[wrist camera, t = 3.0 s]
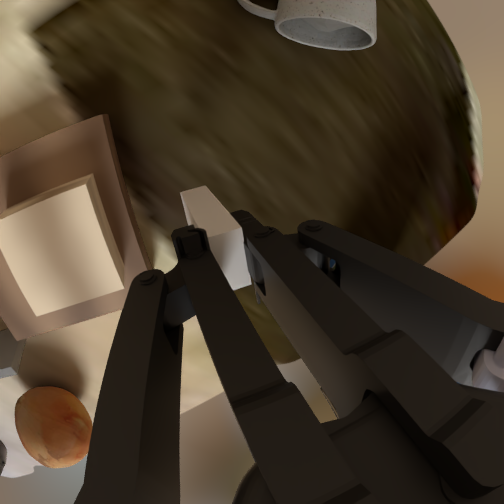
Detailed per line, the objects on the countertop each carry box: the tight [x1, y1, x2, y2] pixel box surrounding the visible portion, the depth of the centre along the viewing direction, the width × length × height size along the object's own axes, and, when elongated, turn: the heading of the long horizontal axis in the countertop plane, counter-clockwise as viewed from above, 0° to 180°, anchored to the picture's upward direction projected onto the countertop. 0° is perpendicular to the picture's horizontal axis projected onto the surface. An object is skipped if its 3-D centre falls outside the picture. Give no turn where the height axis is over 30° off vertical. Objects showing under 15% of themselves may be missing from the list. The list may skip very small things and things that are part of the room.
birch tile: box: [0, 173, 124, 317], centre depth 16 cm, size 7×7×3 cm
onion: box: [15, 386, 93, 468], centre depth 23 cm, size 10×10×10 cm
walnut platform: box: [0, 114, 152, 341], centre depth 19 cm, size 14×14×4 cm
